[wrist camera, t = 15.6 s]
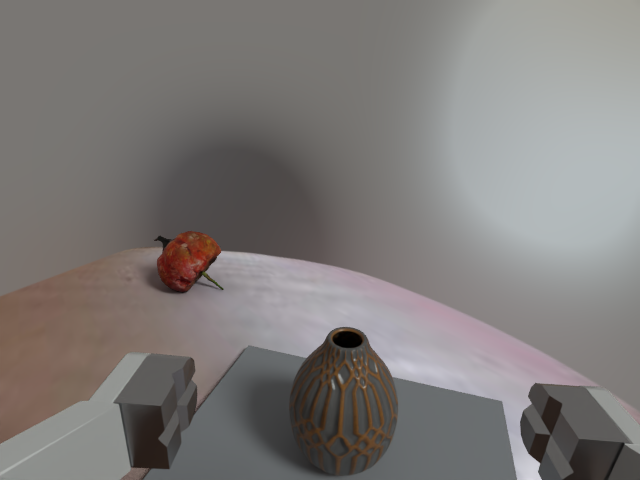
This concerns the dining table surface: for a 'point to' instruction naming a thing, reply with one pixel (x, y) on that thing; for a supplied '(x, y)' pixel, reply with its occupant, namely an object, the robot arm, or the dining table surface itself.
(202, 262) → the pomegranate
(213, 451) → the mat
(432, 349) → the dining table surface
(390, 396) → the vase
